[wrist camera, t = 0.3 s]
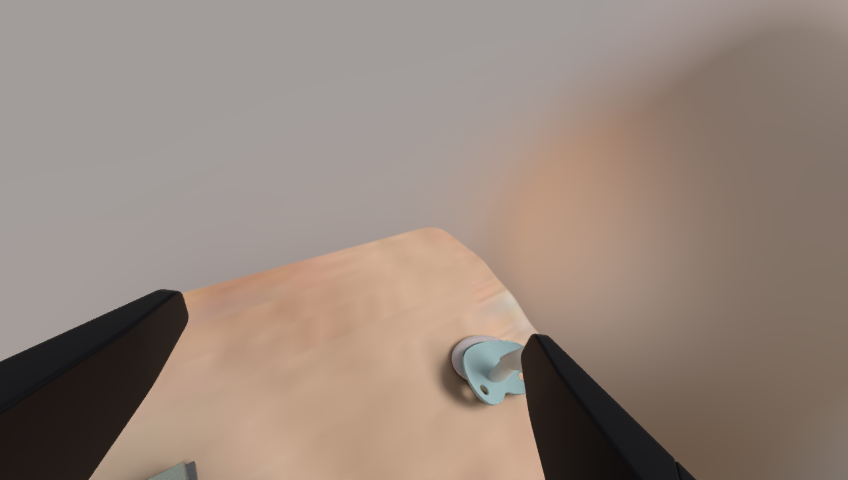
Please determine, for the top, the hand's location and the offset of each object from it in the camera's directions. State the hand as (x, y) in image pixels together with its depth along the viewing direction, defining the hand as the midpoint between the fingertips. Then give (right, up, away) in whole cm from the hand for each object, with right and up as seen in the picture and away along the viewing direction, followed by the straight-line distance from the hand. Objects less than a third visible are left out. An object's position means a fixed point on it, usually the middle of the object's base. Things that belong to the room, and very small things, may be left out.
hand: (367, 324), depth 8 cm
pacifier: (+7, -9, +19) cm, 22 cm away
